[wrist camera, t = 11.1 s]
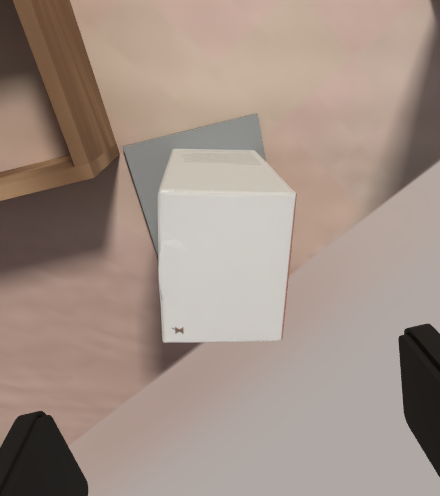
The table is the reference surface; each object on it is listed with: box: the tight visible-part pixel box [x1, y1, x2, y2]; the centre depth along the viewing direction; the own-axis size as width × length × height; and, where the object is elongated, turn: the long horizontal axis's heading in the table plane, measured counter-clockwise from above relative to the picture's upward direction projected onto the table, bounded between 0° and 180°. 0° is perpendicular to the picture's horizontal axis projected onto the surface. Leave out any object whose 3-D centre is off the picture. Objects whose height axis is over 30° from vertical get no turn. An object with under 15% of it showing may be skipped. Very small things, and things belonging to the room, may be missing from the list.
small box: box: [157, 149, 297, 343], centre depth 25 cm, size 8×6×13 cm
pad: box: [123, 114, 266, 255], centre depth 31 cm, size 10×11×1 cm
